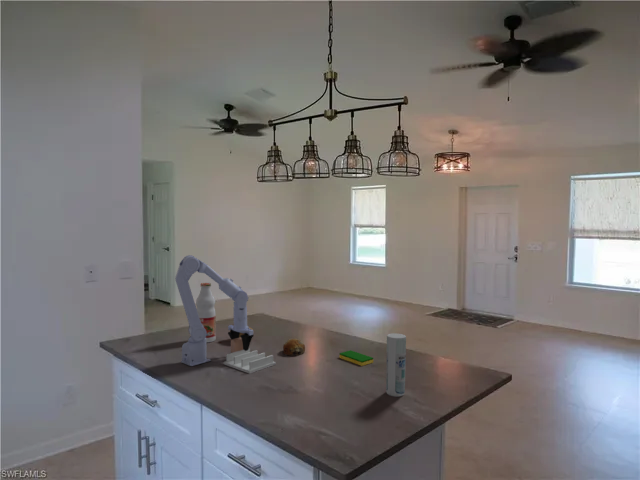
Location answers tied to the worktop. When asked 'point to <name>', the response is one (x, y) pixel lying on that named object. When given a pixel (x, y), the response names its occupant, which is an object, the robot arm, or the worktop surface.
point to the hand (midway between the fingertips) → (240, 349)
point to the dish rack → (248, 360)
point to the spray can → (396, 364)
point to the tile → (236, 345)
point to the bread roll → (294, 347)
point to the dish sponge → (356, 358)
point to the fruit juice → (207, 311)
